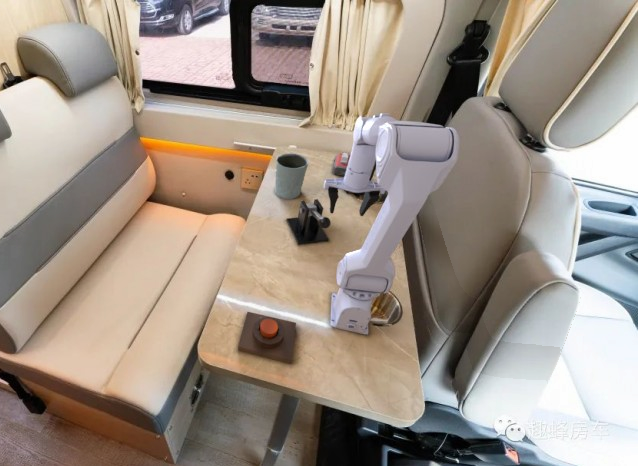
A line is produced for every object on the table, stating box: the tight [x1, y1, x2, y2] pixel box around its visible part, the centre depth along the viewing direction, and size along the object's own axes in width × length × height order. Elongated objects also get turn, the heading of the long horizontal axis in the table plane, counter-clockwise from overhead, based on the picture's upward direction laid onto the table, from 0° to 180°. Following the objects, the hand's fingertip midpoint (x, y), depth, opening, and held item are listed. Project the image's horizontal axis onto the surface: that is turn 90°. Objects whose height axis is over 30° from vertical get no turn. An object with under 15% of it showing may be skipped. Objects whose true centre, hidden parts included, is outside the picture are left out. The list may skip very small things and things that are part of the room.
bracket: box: [285, 198, 329, 246], centre depth 94 cm, size 11×9×10 cm
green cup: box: [274, 152, 309, 200], centre depth 109 cm, size 10×10×12 cm
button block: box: [237, 311, 297, 365], centre depth 70 cm, size 11×9×4 cm
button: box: [260, 319, 278, 338], centre depth 68 cm, size 4×4×2 cm
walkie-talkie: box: [331, 152, 351, 177], centre depth 124 cm, size 9×4×20 cm
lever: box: [306, 203, 332, 230], centre depth 88 cm, size 12×3×3 cm, turn 9°
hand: (346, 212), depth 87 cm, fingers open, 7 cm apart
